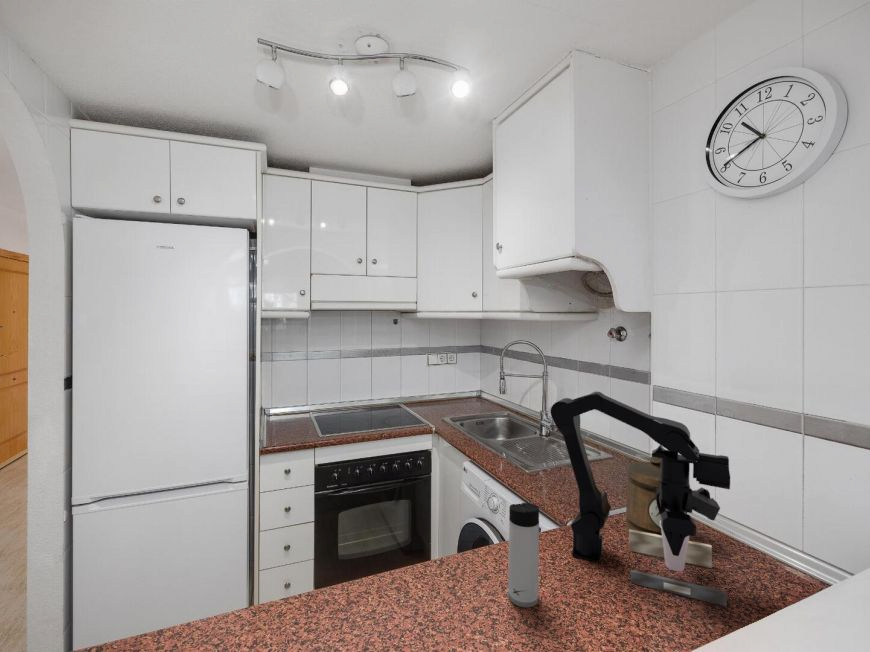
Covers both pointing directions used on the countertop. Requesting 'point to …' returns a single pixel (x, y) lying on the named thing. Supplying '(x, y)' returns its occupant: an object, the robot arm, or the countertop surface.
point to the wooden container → (643, 496)
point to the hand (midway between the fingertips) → (673, 546)
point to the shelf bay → (696, 556)
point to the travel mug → (523, 554)
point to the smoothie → (671, 560)
